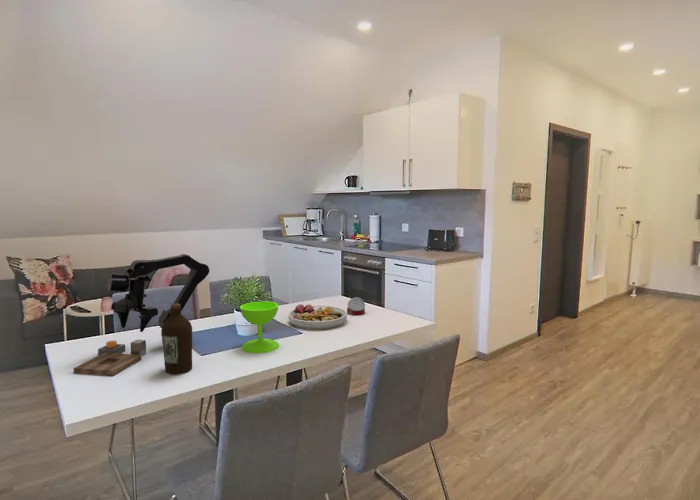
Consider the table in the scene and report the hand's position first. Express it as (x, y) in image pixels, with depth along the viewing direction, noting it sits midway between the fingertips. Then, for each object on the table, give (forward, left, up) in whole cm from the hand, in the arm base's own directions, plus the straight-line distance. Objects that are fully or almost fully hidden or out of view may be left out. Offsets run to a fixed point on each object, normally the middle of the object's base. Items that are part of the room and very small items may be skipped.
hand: (132, 329), depth 174 cm
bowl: (-63, -58, -11) cm, 87 cm away
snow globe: (-80, -78, -11) cm, 113 cm away
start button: (+10, 0, -9) cm, 13 cm away
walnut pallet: (+2, +12, -11) cm, 16 cm away
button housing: (+10, 0, -11) cm, 15 cm away
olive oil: (-26, +11, -11) cm, 30 cm away
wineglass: (-47, -18, -11) cm, 52 cm away
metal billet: (-2, 0, -11) cm, 11 cm away
